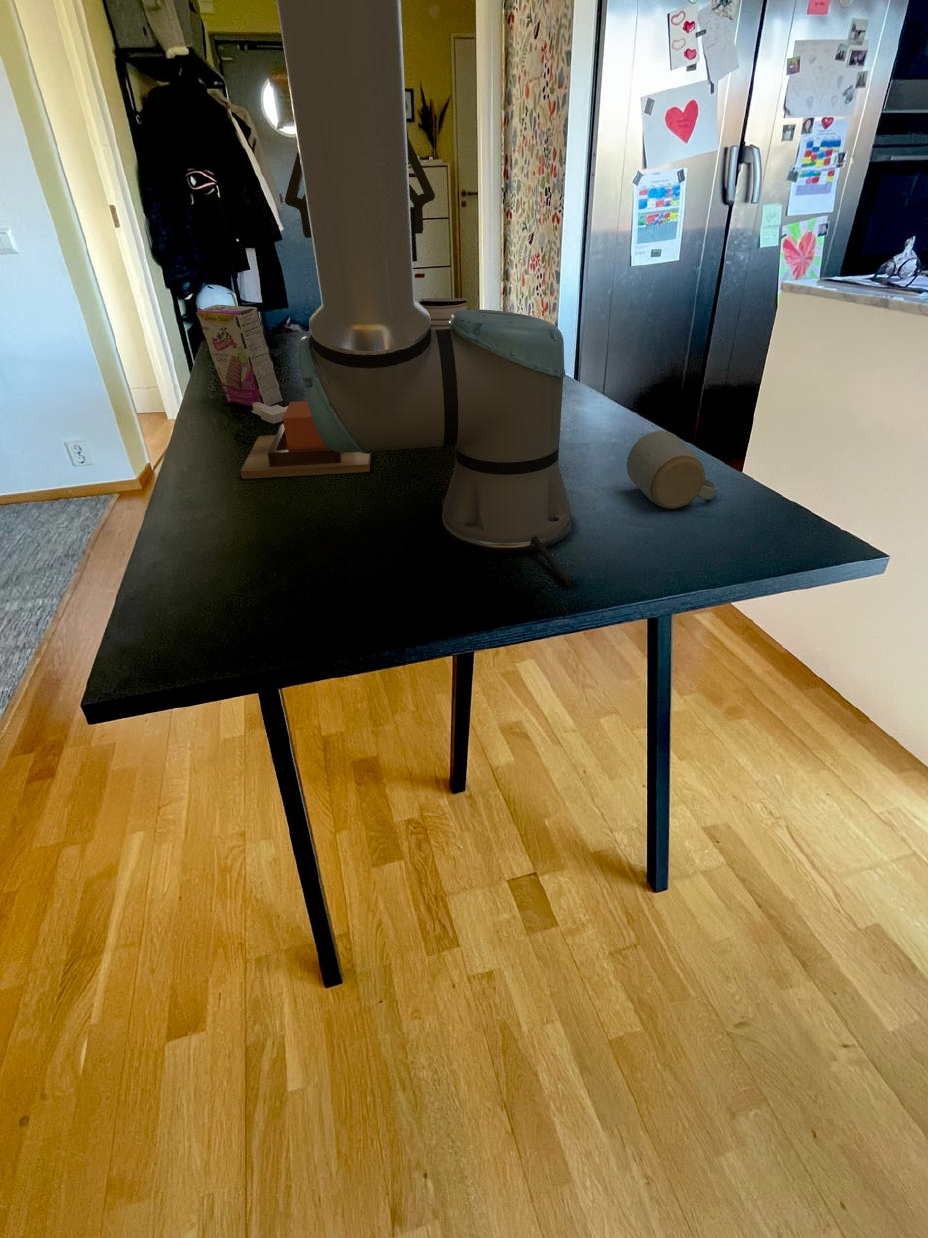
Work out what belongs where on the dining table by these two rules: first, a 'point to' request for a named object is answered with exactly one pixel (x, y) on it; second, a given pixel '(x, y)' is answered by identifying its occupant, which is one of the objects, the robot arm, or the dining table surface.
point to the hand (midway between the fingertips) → (366, 262)
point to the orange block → (300, 427)
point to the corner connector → (269, 412)
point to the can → (442, 310)
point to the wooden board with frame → (298, 460)
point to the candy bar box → (240, 354)
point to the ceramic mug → (668, 471)
